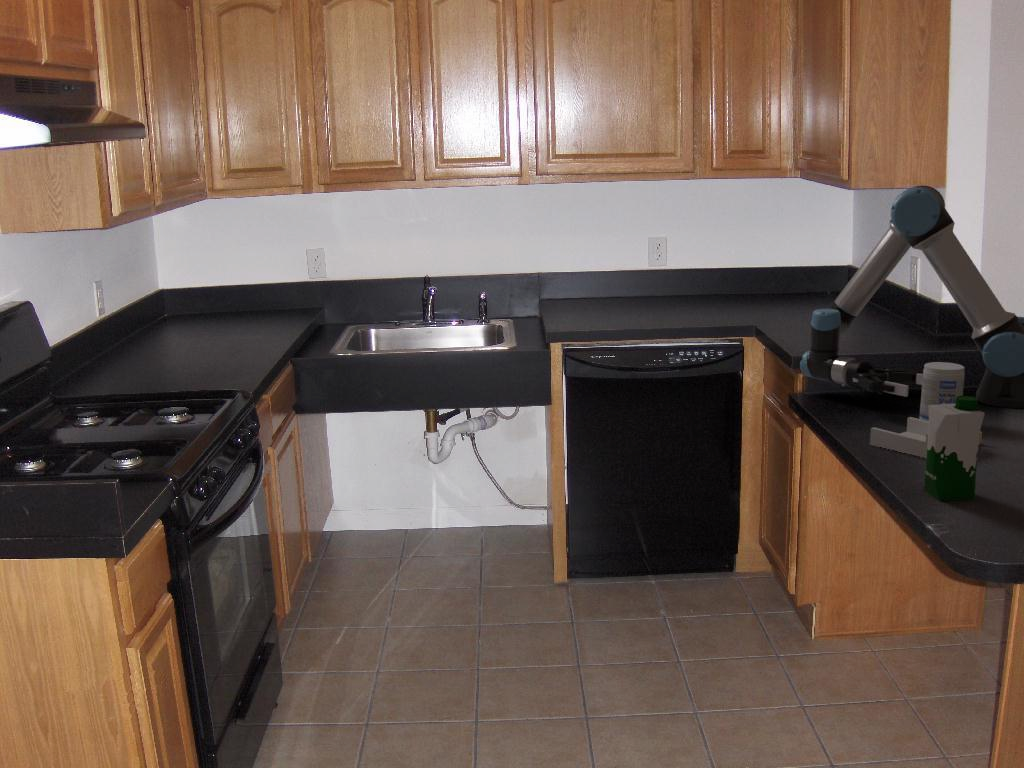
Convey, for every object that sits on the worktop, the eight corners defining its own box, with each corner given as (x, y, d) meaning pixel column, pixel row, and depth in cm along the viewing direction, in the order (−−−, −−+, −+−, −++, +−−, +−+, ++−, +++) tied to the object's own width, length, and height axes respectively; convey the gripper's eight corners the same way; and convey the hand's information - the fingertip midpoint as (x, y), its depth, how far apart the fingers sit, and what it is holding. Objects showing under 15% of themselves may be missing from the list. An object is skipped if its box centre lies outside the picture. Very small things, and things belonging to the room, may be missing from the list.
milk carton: (981, 501, 205) (990, 403, 200) (936, 503, 204) (944, 404, 200) (959, 486, 214) (967, 392, 209) (916, 488, 213) (924, 393, 208)
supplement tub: (941, 430, 253) (946, 371, 250) (910, 421, 261) (914, 364, 258) (968, 424, 257) (973, 366, 254) (937, 416, 266) (942, 359, 262)
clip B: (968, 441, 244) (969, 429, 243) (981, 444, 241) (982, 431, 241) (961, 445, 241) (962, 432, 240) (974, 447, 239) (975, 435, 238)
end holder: (869, 444, 243) (871, 419, 241) (909, 432, 251) (911, 409, 250) (928, 460, 231) (930, 434, 229) (968, 447, 239) (970, 422, 238)
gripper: (881, 379, 286) (951, 393, 269) (821, 393, 272) (892, 409, 255) (882, 352, 284) (953, 365, 267) (823, 365, 270) (894, 379, 253)
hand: (923, 387), depth 261 cm, fingers open, 13 cm apart
